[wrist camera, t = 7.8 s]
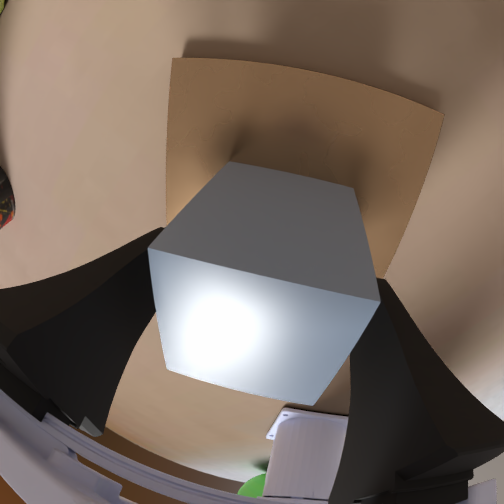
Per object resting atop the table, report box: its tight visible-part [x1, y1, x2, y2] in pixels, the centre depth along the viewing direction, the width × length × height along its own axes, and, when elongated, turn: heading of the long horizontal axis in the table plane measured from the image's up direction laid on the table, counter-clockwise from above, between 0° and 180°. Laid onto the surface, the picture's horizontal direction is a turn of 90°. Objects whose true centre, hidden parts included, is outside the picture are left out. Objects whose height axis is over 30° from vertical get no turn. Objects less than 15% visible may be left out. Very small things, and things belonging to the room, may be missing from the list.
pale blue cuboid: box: [148, 161, 381, 406], centre depth 10 cm, size 5×5×7 cm
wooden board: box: [166, 58, 445, 279], centre depth 11 cm, size 14×11×6 cm
